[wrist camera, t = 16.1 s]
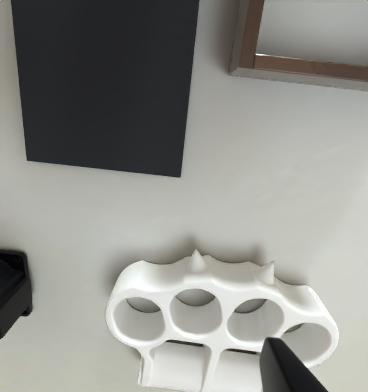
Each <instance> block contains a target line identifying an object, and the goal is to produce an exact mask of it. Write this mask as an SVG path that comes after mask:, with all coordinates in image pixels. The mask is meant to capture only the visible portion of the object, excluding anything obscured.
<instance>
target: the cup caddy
mask: <svg viewBox="0 0 368 392" xmlns="http://www.w3.org/2000/svg"><path fill="white" fill-rule="evenodd" d="M263 5H264V0H240V2H239V9H238V15H237V22H236V29H235V35H234V42H233V49H232V55H231V62H230V69H229V75H230V76H240V77H248V78H256V79H265V80H274V81H283V82H291V83H300V84H309V85H318V86H327V87H335V88H344V89H353V90H362V91H368V67H367V66H358V65H349V64H340V63H332V62H323V61H314V60H306V59H297V58H288V57H279V56H271V55H262V54H255V51H256V45H257V39H258V34H259V28H260V22H261V17H262V11H263Z"/></svg>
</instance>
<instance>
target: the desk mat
mask: <svg viewBox="0 0 368 392" xmlns="http://www.w3.org/2000/svg"><path fill="white" fill-rule="evenodd" d="M11 5H12V15H13V25H14V35H15V45H16V55H17V66H18V76H19V86H20V96H21V106H22V116H23V126H24V136H25V146H26V156H27V161H35V162H44V163H53V164H62V165H71V166H80V167H89V168H99V169H108V170H117V171H126V172H135V173H144V174H153V175H162V176H171V177H181V168H182V159H183V149H184V140H185V130H186V121H187V111H188V102H189V92H190V83H191V73H192V64H193V54H194V45H195V35H196V26H197V17H198V7H199V0H11Z"/></svg>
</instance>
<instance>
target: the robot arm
mask: <svg viewBox="0 0 368 392" xmlns="http://www.w3.org/2000/svg"><path fill="white" fill-rule="evenodd" d="M18 257H19V258H20V259H21V260H20V259H19V258H18ZM31 312H32V294H31V285H30V278H29V275H28V266H27V257H26V255H25V254H24V253H22V252H16V251H7V250H0V339H1V338H3V337H4V335H5V334H6V333H7V332H8V330H9V329H10V328H11V327H12V325H13V324H14V323H15V322H16V321H17V319H18V318H19V317H20V316H29V315H30V313H31ZM259 366H260V373H261V380H262V387H263V392H328V391H327V390H326V389H325V387H324V386H323V385H322V384H321V383H320V382H319V381H318V380H317V378H316V377H315V376H314V375H313V374H312V373H311V372H310V370H309V369H308V368H307V367H306V366H305V365H304V364H303V363H302V361H301V360H300V359H299V358H298V357H297V356H296V355H295V354H294V352H293V351H292V350H291V349H290V348H289V347H288V346H287V344H286V343H285V342H284V341H283V340H282V339H280V338H275V337H266V338H265V340H264V344H263V347H262V351H261V354H260V359H259Z"/></svg>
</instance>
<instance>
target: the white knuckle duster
mask: <svg viewBox="0 0 368 392" xmlns="http://www.w3.org/2000/svg"><path fill="white" fill-rule="evenodd" d="M187 289H203V290H206V291H208V292H210V293H212V294H213V295H214V296H215V298H214V299H213V300H212V301H211V302H210V303H208V304H206V305H203V306H197V307H195V306H189V305H186V304H184V303H182V302H181V301H179V300H178V298H177V297H176V295H177V294H178V293H179V292H181V291H184V290H187ZM130 297H142V298H146V299H148V300H150V301H152V302H154V303H155V304H156V305H157V306H158V307H159V308H160V309H161V310H159V311H157V312H154V313H143V312H140V311H137V310H135V309H134V308H132V307H131V306H130V305H129V304H128V302H127V300H126V298H130ZM255 298H263V299H267V300H266V301H265V302H264V304H263V305H262V306H261V307H260V308H259V309H257V310H255V311H253V312H250V313H244V314H243V313H236V312H233V311H234V310H235V309H236V307H237V306H239V305H240V304H241V303H243V302H245V301H247V300H250V299H255ZM105 318H106V323H107V326H108V328H109V329H110V331H111V332H112V334H113V335H114V336H115V337H116V338H117V339H118V340H120V341H121V342H123V343H124V344H126V345H128V346H130V347H133V348H136V349H137V350H138V352H139V353H140V354H141V356H142V357H141V363H140V370H139V377H138V384H140V385H141V386H142V387H149V386H153V387H160V388H166V389H173V390H180V391H187V392H263V387H262V380H261V373H260V366H259V359H260V354H261V351H262V347H263V344H264V340H265V338H266V337H275V338H280V339H282V340H283V341H284V342H285V343H286V344H287V346H288V347H289V348H290V349H291V350H292V351H293V352H294V354H295V355H296V356H297V357H298V358H299V359H300V360H301V361H302V363H303V364H304V365H305V366H306V367H307V368H311V367H314V366H316V365H318V364H320V363H322V362H323V361H325V360H326V359H327V358H328V357H329V356H330V355H331V354H332V353H333V352H334V350H335V348H336V346H337V343H338V338H339V334H338V329H337V326H336V324H335V322H334V320H333V319H332V317H331V316H330V314H329V313H328V311H327V310H326V308H325V306H324V305H323V303H322V302H321V300H320V299H319V297H318V296H317V294H316V293H315V292H314V291H313V290H312V289H311V288H310V287H308V286H307V285H301V286H296V285H289V284H286V283H283V282H281V281H280V280H278V279H277V278H276V277H274V261H272V262H270V263H268V264H266V265H264V266H262V267H261V266H259V265H257V264H254V263H252V262H249V261H247V262H243V263H225V262H221V261H218V260H216V259H214V258H213V257H211V256H210V255H203V256H201V255H200V254H199V252H198V251H197V250H196V249H195V251H194V253H193V255H192V256H190V257H184V258H183V259H181V260H180V261H177V262H175V263H172V264H166V265H158V264H152V263H148V262H146V261H143V260H142V261H138V262H135V263H133V264H131V265H129V266H128V267H127V268H125V269H124V270H123V271H122V272H121V274H120V275H119V277H118V279H117V281H116V284H115V286H114V288H113V291H112V293H111V295H110V298H109V300H108V302H107V305H106V310H105ZM301 323H304V324H303V325H302V326H301V327H300V328H298V329H297V330H294V331H292V332H287V333H284V332H285V331H286V330H287V329H289V328H290V327H292V326H294V325H297V324H301ZM171 339H173V340H180V341H187V342H194V343H200V344H203V346H202V347H198V346H191V345H184V344H177V343H170V342H165V341H167V340H171ZM228 348H235V349H242V350H248V351H255V352H256V355H254V354H247V353H240V352H233V351H226V350H225V349H228Z"/></svg>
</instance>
